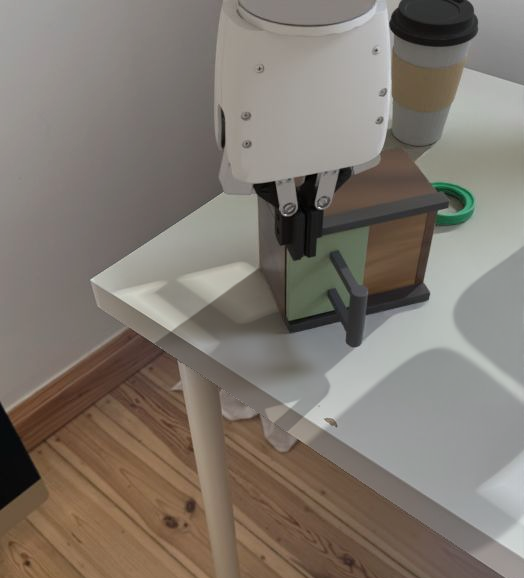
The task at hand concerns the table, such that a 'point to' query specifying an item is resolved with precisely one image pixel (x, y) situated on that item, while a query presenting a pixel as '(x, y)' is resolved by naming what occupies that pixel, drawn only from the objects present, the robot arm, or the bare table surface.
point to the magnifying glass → (463, 196)
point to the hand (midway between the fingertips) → (297, 246)
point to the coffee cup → (428, 64)
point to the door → (331, 282)
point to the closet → (369, 235)
